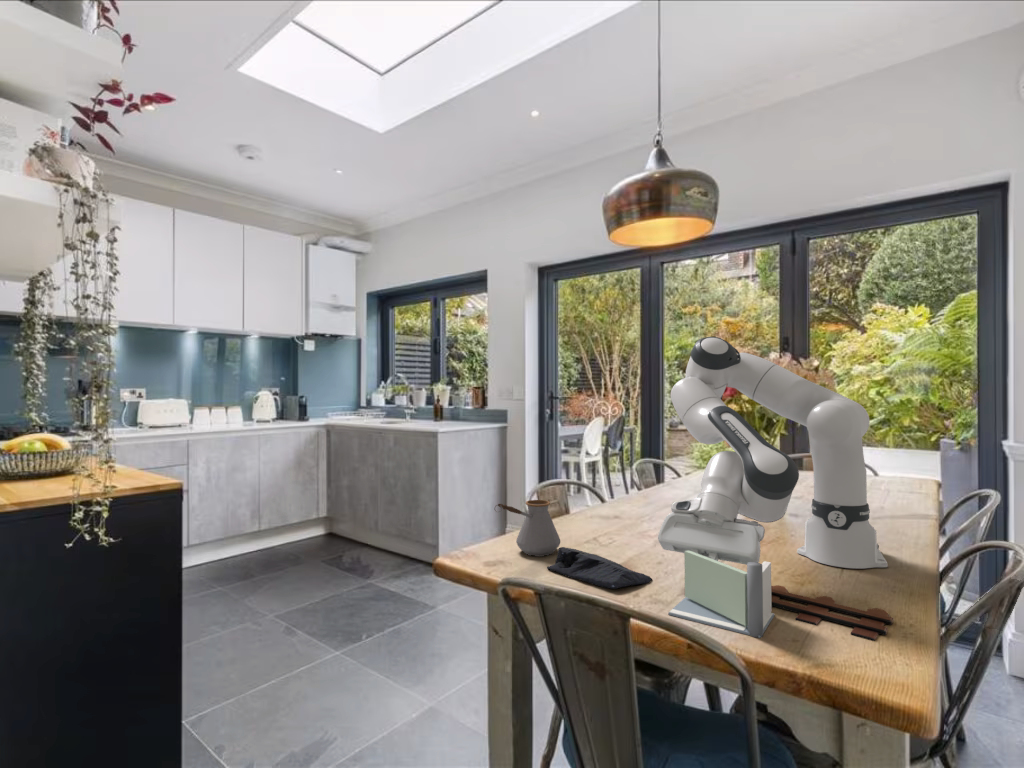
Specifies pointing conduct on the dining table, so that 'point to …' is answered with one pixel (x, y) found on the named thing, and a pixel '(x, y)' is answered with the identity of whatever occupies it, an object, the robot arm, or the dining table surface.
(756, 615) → the fence post and white panel
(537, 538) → the coffee pot
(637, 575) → the dark slate chunk
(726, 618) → the card
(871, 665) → the dining table surface
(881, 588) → the dining table surface
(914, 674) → the dining table surface
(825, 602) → the decorative fence
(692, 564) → the green wall panel
